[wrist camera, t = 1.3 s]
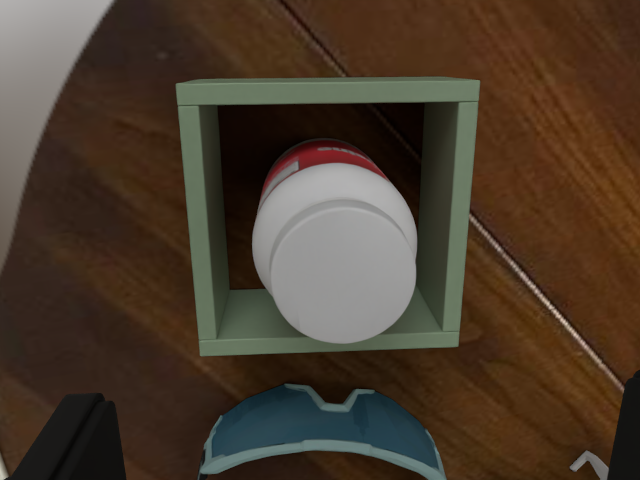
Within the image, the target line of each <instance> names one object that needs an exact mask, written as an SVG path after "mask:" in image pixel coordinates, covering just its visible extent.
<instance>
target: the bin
mask: <svg viewBox="0 0 640 480" xmlns="http://www.w3.org/2000/svg"><path fill="white" fill-rule="evenodd" d="M479 90H480V81H479V80H471V79H461V78H451V77H351V78H258V79H198V80H193V81H188V82H183V83H178V84H176V94H177V104H178V105H179V106H178V115H179V126H180V137H181V148H182V159H183V170H184V181H185V192H186V203H187V214H188V226H189V237H190V248H191V259H192V270H193V281H194V292H195V303H196V314H197V325H198V336H199V348H200V356H221V355H249V354H276V353H304V352H331V351H359V350H386V349H413V348H441V347H458V343H459V330H460V319H461V307H462V294H463V282H464V270H465V258H466V246H467V234H468V222H469V210H470V198H471V185H472V173H473V161H474V149H475V137H476V125H477V113H478V102H477V101H478V100H479ZM412 102H425V103H424V123H423V142H422V161H421V181H420V200H419V220H418V239H417V258H416V283H415V288H414V292H413V295H412V297H411V300H410V302H409V304H408V306H407V308H406V310H405V311H404V312H403V314H402V315H401V316H400V317H399V318H398V320H397V321H396V322H395V323H394V324H393V325H391V326H390V327H389V328H387V329H386V330H385V331H383V332H382V333H380V334H378V335H376V336H374V337H372V338H369V339H366V340H363V341H359V342H354V343H348V344H339V343H329V342H323V341H319V340H316V339H313V338H311V337H309V336H307V335H305V334H303V333H301V332H299V331H298V330H296V329H295V328H294V327H293V326H292V325H290V323H289V322H288V321H287V320H286V319H285V318H284V317H283V316H282V314H281V312H280V311H279V309H278V307H277V306H276V303H275V301H274V298H273V296H272V295H271V294H270V293H269V292H268V290H267V289H248V290H230V285H229V271H228V256H227V241H226V226H225V211H224V196H223V182H222V167H221V152H220V137H219V122H218V108H217V105H259V104H336V103H412Z"/></svg>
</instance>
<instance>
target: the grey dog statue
mask: <svg viewBox="0 0 640 480" xmlns="http://www.w3.org/2000/svg"><path fill="white" fill-rule="evenodd" d="M586 461H590V463H591V464H592V466H593V468H594V469H595V471H596V473H597V475H598V476H599V478H600V480H607V476H608V471H609V468H608V467H607V466H606V465H605V464H604V463H603V462H602V461H601V460H600V459H599V458H598V457H597V456H596V455H594V454H592V453H590V452H589V451H587V450H586V451H585V452H584V453H583V454H582V455H581V456H580V457H579V458H578V459H577V460H576V461H575V462H574V463H573V464H572V465H571V466H570V469H571V470H573V471H574V472H575V471H577V470H578V469H579V468H580V467H581V466H582V465H583V464H584V463H585V462H586Z"/></svg>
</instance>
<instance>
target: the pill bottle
mask: <svg viewBox="0 0 640 480" xmlns="http://www.w3.org/2000/svg"><path fill="white" fill-rule="evenodd" d="M252 252H253V259H254V264H255V267H256V270H257V273H258V275H259V277H260V279H261V281H262V283H263V285H264V286H265V288H266V289H267V290H268V292H269V293H270V294H271V295H272V296H273V298H274V301H275V303H276V306H277V307H278V309H279V311H280V312H281V314H282V316H283V317H284V318H285V319H286V320H287V321H288V322H289V323H290V325H292V326H293V327H294V328H295V329H296V330H298V331H299V332H301V333H303V334H305V335H307V336H309V337H311V338H313V339H316V340H319V341H323V342H329V343H339V344H348V343H354V342H359V341H363V340H366V339H369V338H372V337H374V336H376V335H378V334H380V333H382V332H383V331H385V330H386V329H387V328H389V327H390V326H391V325H393V324H394V323H395V322H396V321H397V320H398V318H399V317H400V316H401V315H402V314H403V312H404V311H405V310H406V308H407V306H408V304H409V302H410V300H411V297H412V295H413V292H414V288H415V283H416V264H415V259H416V254H417V231H416V226H415V222H414V218H413V216H412V213H411V211H410V209H409V207H408V205H407V203H406V202H405V200H404V198H403V197H402V195H401V194H400V193H399V192H398V190H397V189H396V188H395V187H394V185H393V184H392V183H391V182H390V181H389V180H388V178H387V177H386V176H385V175H384V174H383V173H382V171H381V170H380V169H379V168H378V167H377V166H376V164H375V163H374V162H373V161H372V160H371V159H370V158H369V157H368V156H367V155H366V154H365V153H364V152H362V151H361V150H360V149H358V148H357V147H355V146H353V145H351V144H349V143H347V142H344V141H341V140H338V139H332V138H316V139H310V140H306V141H303V142H301V143H298V144H296V145H294V146H293V147H291V148H289V149H288V150H287V151H285V152H284V153H283V154H282V155H281V156H280V157H279V158H278V159H277V160H276V161H275V163H274V164H273V165H272V167H271V169H270V170H269V172H268V174H267V177H266V179H265V182H264V185H263V189H262V193H261V198H260V202H259V207H258V211H257V216H256V220H255V224H254V229H253V235H252Z"/></svg>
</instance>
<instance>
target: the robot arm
mask: <svg viewBox="0 0 640 480" xmlns="http://www.w3.org/2000/svg"><path fill="white" fill-rule="evenodd" d="M4 480H126V473H125V467H124V460H123V453H122V447H121V440H120V433H119V427H118V420H117V413H116V407H115V404H114V402H113V401H105V398H104V396H103V394H101V393H88V394H69V395H66V396H65V397H64V398H63V399H62V401H61V402H60V404H59V405H58V407H57V408H56V410H55V411H54V413H53V414H52V416H51V417H50V419H49V420H48V422H47V423H46V425H45V426H44V428H43V429H42V431H41V432H40V434H39V435H38V437H37V438H36V440H35V441H34V443H33V444H32V446H31V447H30V449H29V450H28V452H27V453H26V455H25V457H24V458H23V460H22V461H21V463H20V464H19V466H18V467H17V469H16V470H15V472H14V473H13V475H12V476H11V477H8V478H6V479H4ZM607 480H640V370H639V371H637V372H636V373H635V374H634V375H633V378H630V379H628V381H627V382H626V385H625V389H624V394H623V399H622V404H621V409H620V415H619V420H618V425H617V430H616V435H615V440H614V445H613V451H612V456H611V461H610V466H609V471H608V476H607Z"/></svg>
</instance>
